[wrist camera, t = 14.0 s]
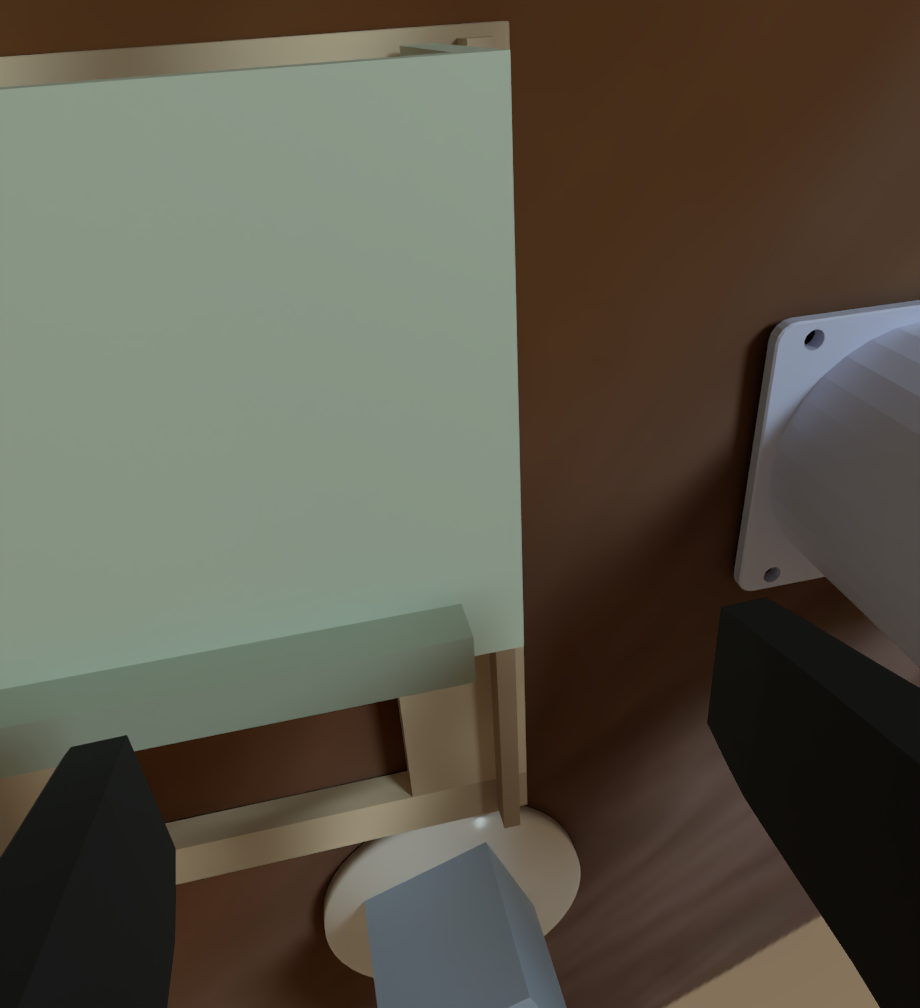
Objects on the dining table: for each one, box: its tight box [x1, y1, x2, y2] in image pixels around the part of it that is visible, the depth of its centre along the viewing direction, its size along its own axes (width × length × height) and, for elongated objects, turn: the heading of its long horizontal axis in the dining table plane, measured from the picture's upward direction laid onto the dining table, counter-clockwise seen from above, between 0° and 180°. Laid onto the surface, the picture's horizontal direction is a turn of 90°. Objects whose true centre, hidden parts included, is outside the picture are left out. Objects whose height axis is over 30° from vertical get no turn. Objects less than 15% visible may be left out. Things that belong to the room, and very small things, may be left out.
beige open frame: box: [0, 21, 527, 885], centre depth 18 cm, size 15×21×2 cm
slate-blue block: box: [364, 842, 567, 1008], centre depth 25 cm, size 4×4×5 cm
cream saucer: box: [323, 805, 581, 978], centre depth 28 cm, size 9×9×1 cm
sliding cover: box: [0, 43, 524, 778], centre depth 13 cm, size 12×10×6 cm
